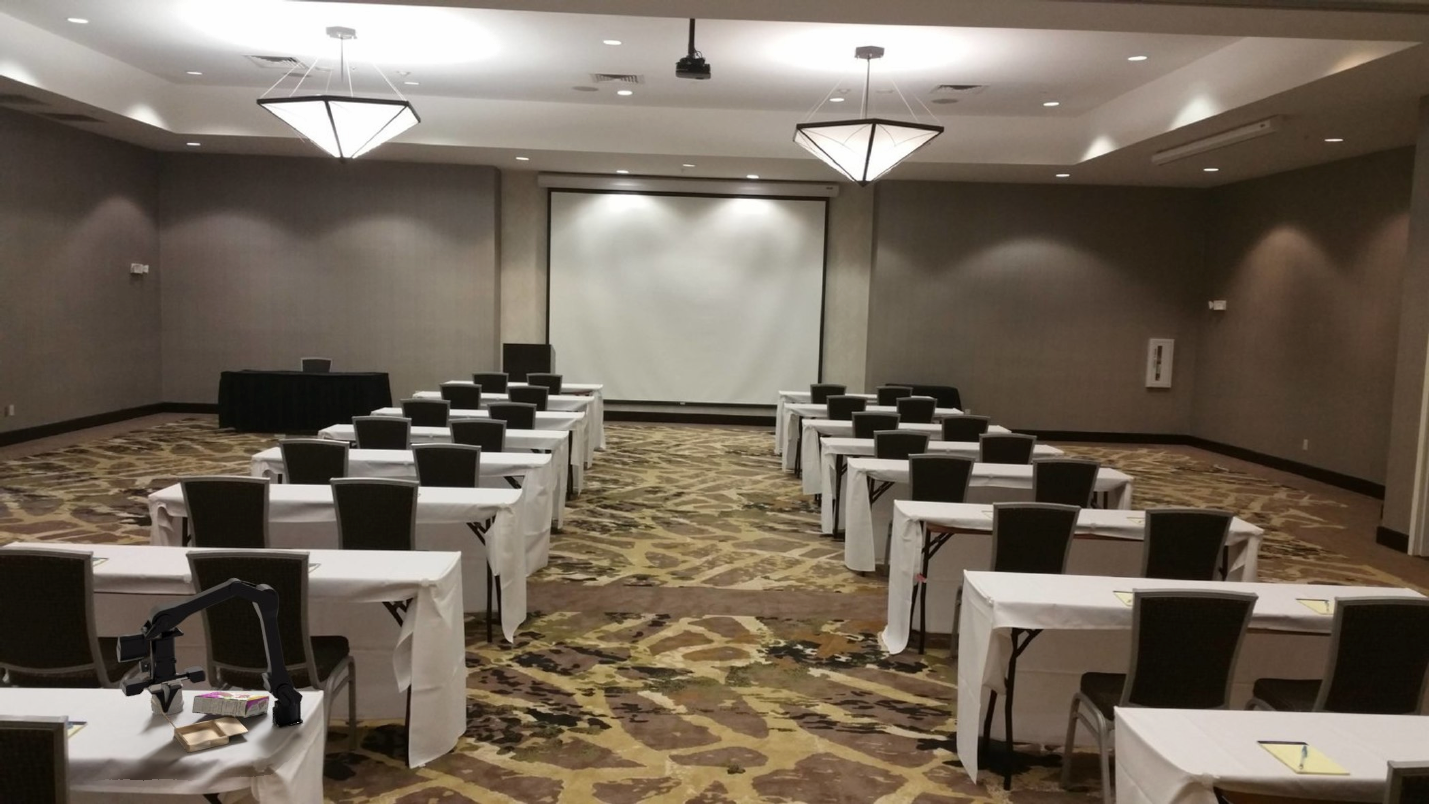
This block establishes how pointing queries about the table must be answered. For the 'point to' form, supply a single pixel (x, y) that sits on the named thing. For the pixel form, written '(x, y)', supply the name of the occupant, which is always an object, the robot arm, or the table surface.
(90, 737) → the table surface
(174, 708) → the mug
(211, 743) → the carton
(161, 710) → the flap
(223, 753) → the table surface
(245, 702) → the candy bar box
